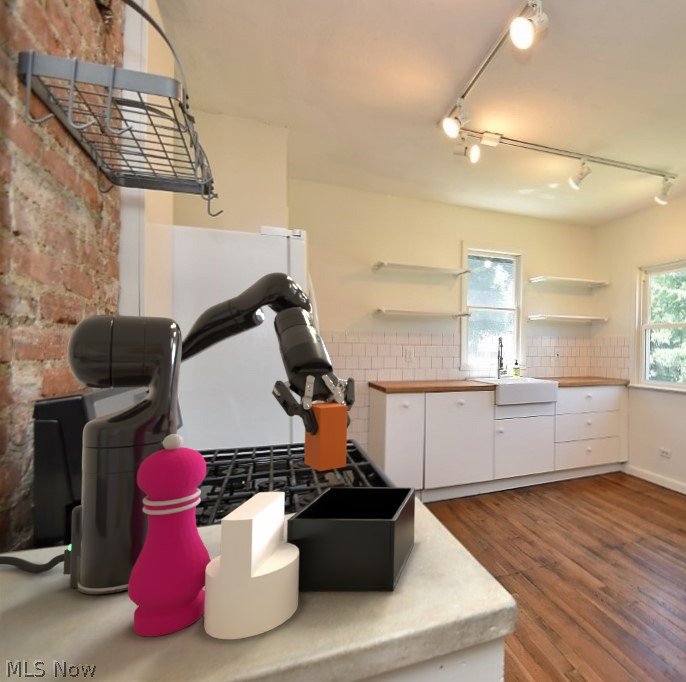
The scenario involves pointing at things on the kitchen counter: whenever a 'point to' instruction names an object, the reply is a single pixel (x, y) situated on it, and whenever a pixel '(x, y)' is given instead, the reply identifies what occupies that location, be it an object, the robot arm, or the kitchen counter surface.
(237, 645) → the kitchen counter surface
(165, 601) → the pepper mill
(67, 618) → the kitchen counter surface
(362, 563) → the bin
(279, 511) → the cylinder with rectangular tab
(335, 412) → the orange rectangular block
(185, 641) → the kitchen counter surface
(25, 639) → the kitchen counter surface
